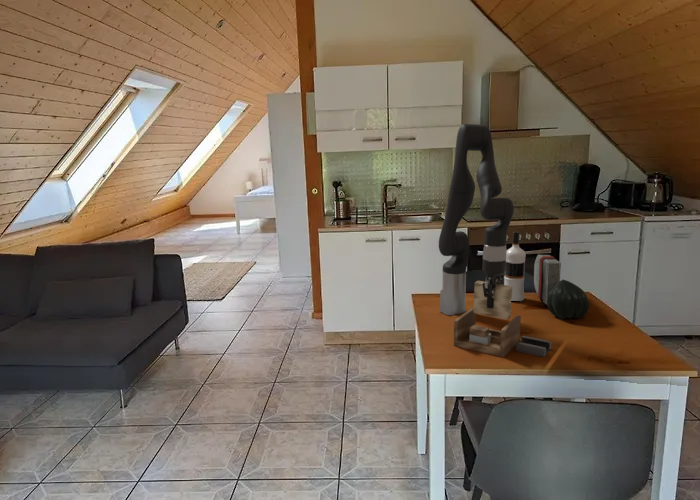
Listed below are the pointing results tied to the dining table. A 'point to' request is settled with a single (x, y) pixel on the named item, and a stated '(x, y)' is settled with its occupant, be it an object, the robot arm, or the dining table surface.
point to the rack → (499, 339)
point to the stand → (533, 346)
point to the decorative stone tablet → (546, 275)
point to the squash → (567, 300)
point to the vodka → (515, 269)
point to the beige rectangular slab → (500, 301)
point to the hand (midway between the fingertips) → (492, 306)
